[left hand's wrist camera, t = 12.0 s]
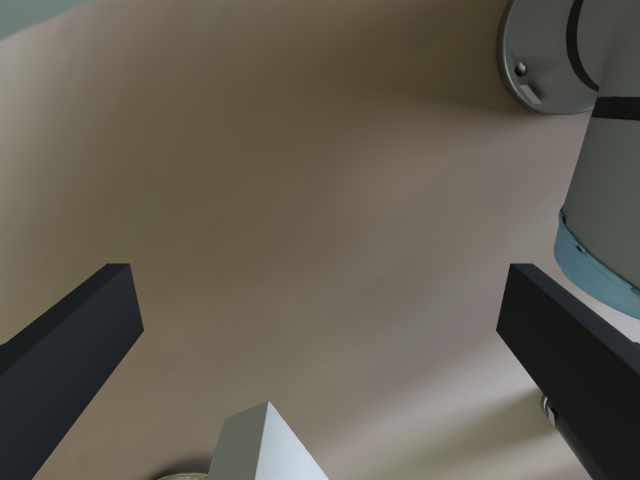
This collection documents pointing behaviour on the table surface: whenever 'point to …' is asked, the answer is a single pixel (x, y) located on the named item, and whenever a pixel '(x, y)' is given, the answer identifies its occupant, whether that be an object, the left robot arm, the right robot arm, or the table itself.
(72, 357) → the left robot arm
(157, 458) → the table surface
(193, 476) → the spoon
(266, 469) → the bar
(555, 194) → the table surface
